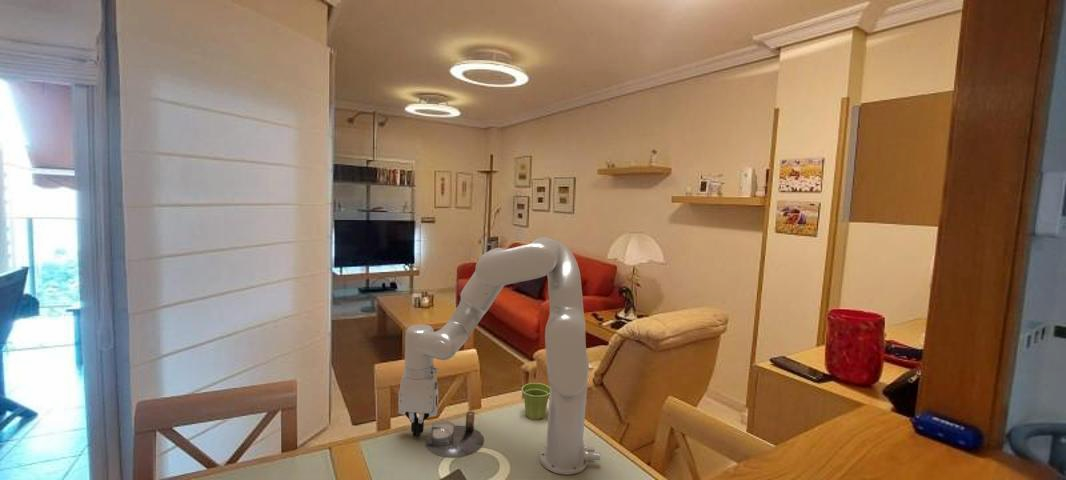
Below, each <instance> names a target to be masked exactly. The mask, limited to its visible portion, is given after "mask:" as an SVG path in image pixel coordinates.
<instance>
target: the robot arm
mask: <svg viewBox="0 0 1066 480" xmlns="http://www.w3.org/2000/svg"><path fill="white" fill-rule="evenodd" d="M476 261H477V262H476V264H475V270H474V272H473V274H472V275H471V276H470V277H469V279H468V281H467V283H466V284H465V285H464V287H463V288H462V290H461V292H460V295H459V296H460V300H459V303H458V305H457V306H456V308H455V309H454V312H453V313H452V314H451V316H450V317H449V319H448V321H447V322H446V323H445V324H444V325H443V326H442V327H441V328H440V329H438V330H436V331H435V329H434V328H433V327H432V326H431V325H428V324H425V323H423V324H422V323H421V324H420V323H418V324H412V325H410V326H408V327H407V329H406V330H405V339H404V340H405V343H404V345H405V347H404V373H402V376H401V380H400V385H399V392H398V402H397V403H398V410H397V413H398V414H400V415H404V416H406V417H407V419H408V420H409V422H410V423H411V424H410V425H411V427H410V429H411V430H410V432H411V433H412V438H419V437H420V435H421V434H423V432H424V429H425V427H424V426H425V425H424V423H425V421H426V420H427V419H428V418H432V417H436V416H437V415H438V408H437V407H438V405H439V388H438V387H439V385H438V379H437V374H438V373H439V368H438V367H435V363H434V359H436V360H439V361H447V360H450V359H452V358H453V357H454V356H455V355H456V354H457V353H458V352H459V350H460V349H461V348H462V346H464V344H465V343H466V342H467V340H468V339H469V338H470V336H471V335H472V334H473V332H474V331H475V329H476V327H477V326H478V325H479V323H480V321H481V320H482V319H483V317H484V315H485V314H486V313H487V312H488V311H489V309H490V308H491V306H492V305H493V303H494V302H495V300H496V299H497V297H498V296H499V294H500V293H501V291H502V289H504V287H505V286H508V285H511V284H512V285H513V284H517V283H521V282H526V281H532V280H536V279H539V278H543V277H545V276H547V284H548V285H547V286H548V287H547V288H548V290H547V291H548V299H549V300H548V302H549V316H548V319H547V323H546V325H545V329H544V330H545V331H544V332H545V334H544V338H545V339H544V340H545V343H544V344H545V358H546V369H547V379H548V383H549V387H550V396H549V398H548V413H547V414H548V417H547V431H546V446H545V447H543V448H542V450H541V451H540V453H539V460H540V461H539V462H540V463H541V465H542V466H543V467H544V468H545V469H546V470H548V471H550V472H552V473H555V474H559V475H567V476H568V475H575V474H579V473H581V472H583V471H584V470H585V469H586V468H587V466H588V463H589V462H588V460H595V461H601V452H599V451H595V450H596V449H595V447H591V446H590V447H589V446H586V445H585V443H584V441H585V440H584V432H585V416H586V407H587V392H588V378H589V367H590V365H589V364H590V361H589V356H588V354H587V343H586V327H587V325H586V318H585V313H584V310H585V309H584V301H583V300H584V299H583V297H584V296H583V289H582V278H581V272H580V268H579V265H578V261H577V260H576V257H575V256H574V254H573V252H572V251H571V250H570V249H569V248H568V247H567V246H566V245H565V244H563V243H561V242H560V241H558V240H556V239H553V238H551V237H538V238H536V239H534V240H532V241H531V242H530V243H526V244H523V245H519V246H515V247H511V248H502V247H495V248H492V249H489V250H488V251H487V252H484V253H483V254H481V255H480V257H479V258H478V259H477V260H476ZM418 414H419V415H418Z"/></svg>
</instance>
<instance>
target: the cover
mask: <svg viewBox="0 0 1066 480" xmlns="http://www.w3.org/2000/svg"><path fill="white" fill-rule="evenodd" d="M454 426H455V424H454V423H453V422H452V421H451V420H447V419H446V420H445V419H443V420H438V421H435V422H433V423H432V424H431V432H430V433H431V442H432V443H433V444H435V445H439V446H443V445H448V444H450V443H451V442H452V441H453V434H454Z"/></svg>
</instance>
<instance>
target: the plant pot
mask: <svg viewBox="0 0 1066 480" xmlns="http://www.w3.org/2000/svg"><path fill="white" fill-rule="evenodd" d="M521 392H522V395H523V400H524V401H523V402H524V411H525V416H527V418H528V419H529V420H537V421H538V420H540V419H544V418H545V416H546V412H547V406H548V403H549V399H550V385H547V384H544V383H540V382H531V383H526V384H525V385H524V384H523V385H522V387H521Z"/></svg>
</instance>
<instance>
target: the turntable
mask: <svg viewBox="0 0 1066 480" xmlns="http://www.w3.org/2000/svg"><path fill="white" fill-rule="evenodd" d="M475 416H476V415H475V411H470V410H469V411H467V412H465V425H454V434H453V441H452V442H451V443H450V444H448V445H443V446H439V445H435V444H433V443H432V442H431V432H429V434H428V435H427V436H426V438H425V439H424V441H425V442H424V445H425V448H426V450H427V451H428V452H430V453H431V454H432V455H435V456H437V457H442V458H447V459H457V458H465V457H467V456H470V455H473V454H475V453H478V451H480V449H482V447H483V446H484V443H485V438H484V436H483V434H482V433H481V432H480V431H478V430H477V429H475Z"/></svg>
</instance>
